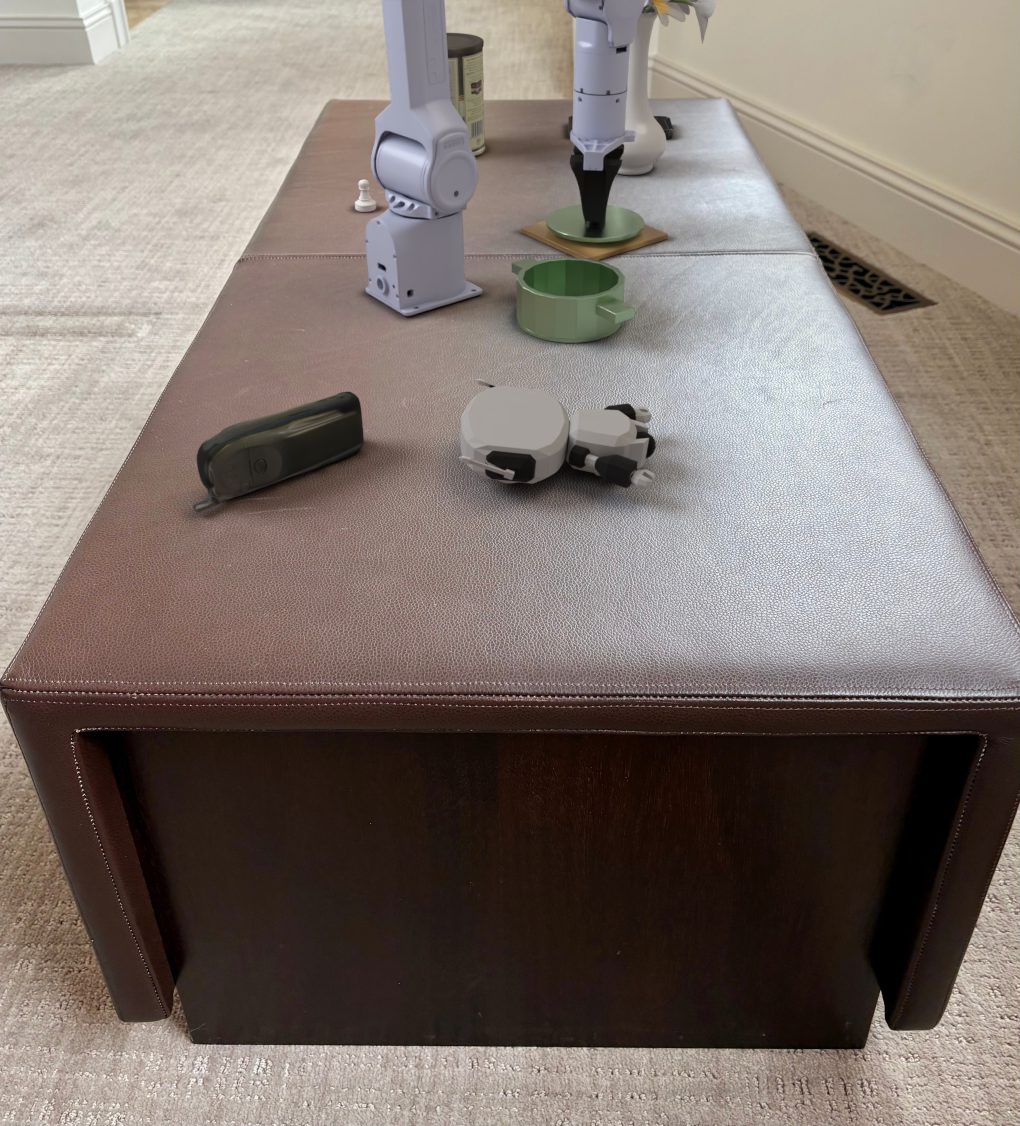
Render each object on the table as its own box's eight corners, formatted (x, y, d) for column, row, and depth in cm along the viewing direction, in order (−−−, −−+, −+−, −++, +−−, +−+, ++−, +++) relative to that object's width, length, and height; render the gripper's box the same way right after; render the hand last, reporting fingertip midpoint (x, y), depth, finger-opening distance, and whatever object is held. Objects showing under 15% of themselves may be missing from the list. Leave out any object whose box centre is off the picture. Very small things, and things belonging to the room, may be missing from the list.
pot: (581, 363, 97) (583, 318, 94) (480, 307, 107) (479, 264, 104) (662, 333, 102) (666, 289, 99) (559, 282, 112) (560, 241, 109)
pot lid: (589, 255, 116) (591, 212, 113) (526, 226, 123) (526, 185, 120) (664, 233, 121) (667, 191, 119) (599, 206, 129) (601, 167, 126)
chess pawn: (351, 208, 130) (348, 179, 128) (369, 203, 132) (367, 175, 130) (362, 213, 129) (359, 184, 127) (380, 209, 130) (378, 180, 128)
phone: (673, 130, 153) (569, 129, 153) (673, 139, 153) (568, 137, 154) (669, 116, 159) (568, 114, 159) (668, 123, 160) (568, 122, 160)
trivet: (588, 263, 116) (588, 258, 116) (520, 232, 124) (520, 227, 123) (667, 239, 122) (668, 234, 121) (598, 211, 129) (598, 206, 129)
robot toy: (648, 437, 88) (467, 419, 88) (656, 388, 85) (469, 370, 85) (652, 522, 78) (449, 501, 78) (662, 470, 75) (451, 449, 76)
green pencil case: (346, 382, 84) (170, 443, 76) (368, 396, 82) (190, 459, 74) (350, 437, 87) (182, 502, 79) (372, 452, 85) (201, 519, 77)
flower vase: (709, 183, 138) (734, -37, 123) (567, 183, 138) (574, -37, 123) (695, 153, 148) (716, -53, 133) (563, 153, 148) (569, -53, 133)
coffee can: (418, 138, 154) (413, 31, 146) (489, 140, 153) (487, 32, 145) (406, 159, 146) (399, 47, 138) (480, 161, 145) (478, 49, 137)
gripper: (635, 108, 107) (626, 240, 115) (640, 73, 118) (632, 196, 127) (565, 105, 108) (561, 237, 116) (577, 72, 119) (573, 194, 127)
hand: (594, 216), depth 121 cm, fingers closed on pot lid, 2 cm apart
